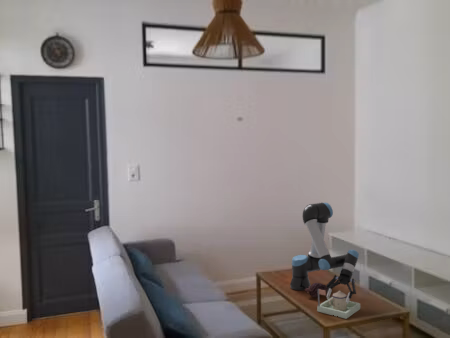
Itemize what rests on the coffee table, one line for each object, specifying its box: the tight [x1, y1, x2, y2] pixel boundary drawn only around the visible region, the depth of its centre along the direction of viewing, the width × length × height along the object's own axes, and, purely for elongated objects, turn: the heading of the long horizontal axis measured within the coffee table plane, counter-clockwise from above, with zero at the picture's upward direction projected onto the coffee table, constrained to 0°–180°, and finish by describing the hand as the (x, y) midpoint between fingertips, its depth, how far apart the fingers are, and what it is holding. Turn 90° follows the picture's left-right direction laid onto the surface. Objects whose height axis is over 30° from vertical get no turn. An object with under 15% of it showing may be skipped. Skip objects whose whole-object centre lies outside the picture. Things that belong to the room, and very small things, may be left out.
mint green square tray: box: [316, 289, 361, 320], centre depth 282 cm, size 20×20×14 cm
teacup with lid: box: [329, 290, 348, 311], centre depth 283 cm, size 12×9×12 cm
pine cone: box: [304, 282, 328, 298], centre depth 307 cm, size 18×10×10 cm, turn 101°
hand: (336, 300), depth 281 cm, fingers open, 13 cm apart
